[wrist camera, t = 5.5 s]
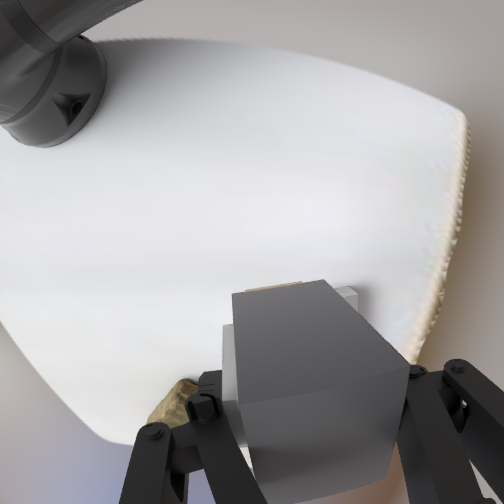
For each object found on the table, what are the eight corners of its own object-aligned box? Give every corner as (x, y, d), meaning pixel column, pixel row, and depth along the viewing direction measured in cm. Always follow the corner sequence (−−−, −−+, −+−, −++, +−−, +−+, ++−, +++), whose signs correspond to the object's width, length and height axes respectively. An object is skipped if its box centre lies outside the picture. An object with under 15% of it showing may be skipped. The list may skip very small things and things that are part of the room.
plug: (231, 280, 19) (238, 404, 7) (311, 267, 19) (410, 365, 8) (244, 363, 20) (262, 508, 9) (317, 351, 20) (385, 478, 9)
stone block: (144, 420, 39) (137, 442, 34) (181, 372, 37) (176, 394, 33) (178, 437, 40) (174, 459, 35) (218, 392, 38) (218, 415, 34)
